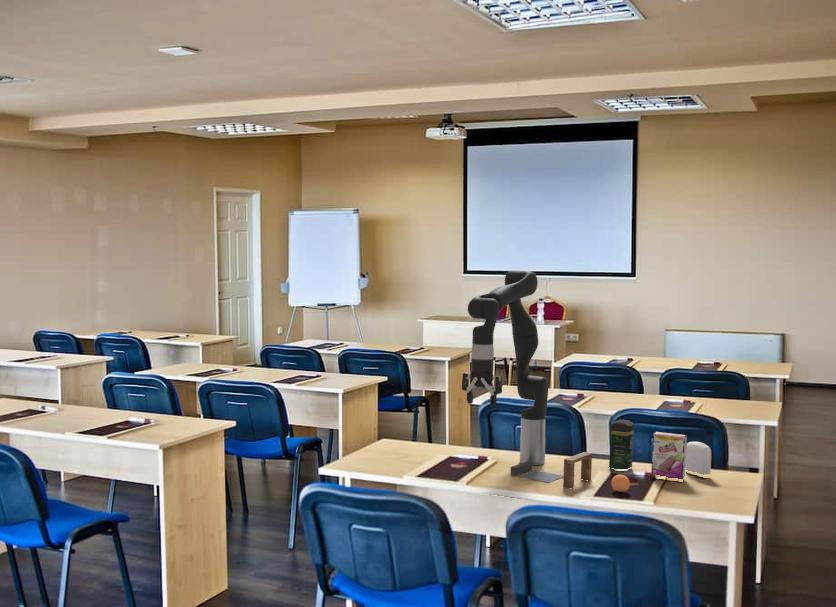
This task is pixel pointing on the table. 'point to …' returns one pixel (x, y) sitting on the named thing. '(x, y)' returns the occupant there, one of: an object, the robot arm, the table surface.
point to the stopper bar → (521, 468)
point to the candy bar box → (669, 455)
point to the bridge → (569, 468)
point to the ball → (620, 483)
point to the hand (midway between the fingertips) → (481, 404)
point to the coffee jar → (621, 444)
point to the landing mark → (541, 476)
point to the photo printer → (698, 458)
